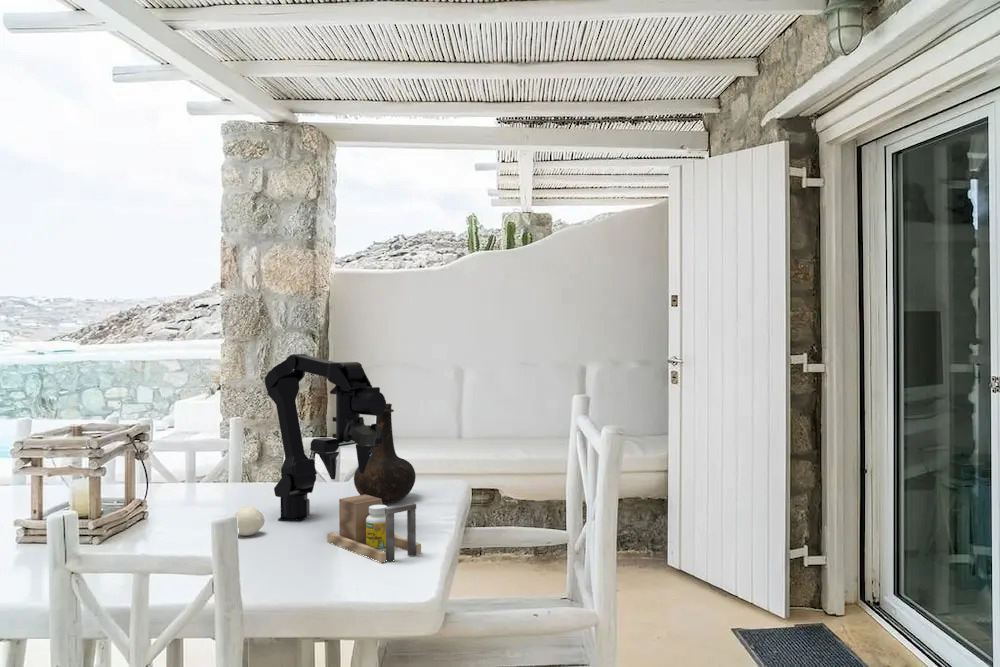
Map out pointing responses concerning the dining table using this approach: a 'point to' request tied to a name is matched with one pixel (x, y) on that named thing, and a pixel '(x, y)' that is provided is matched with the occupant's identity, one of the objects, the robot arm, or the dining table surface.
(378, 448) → the glass bottle
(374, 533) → the supplement bottle
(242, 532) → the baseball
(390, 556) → the channel
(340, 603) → the dining table surface
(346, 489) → the dining table surface
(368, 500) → the block
